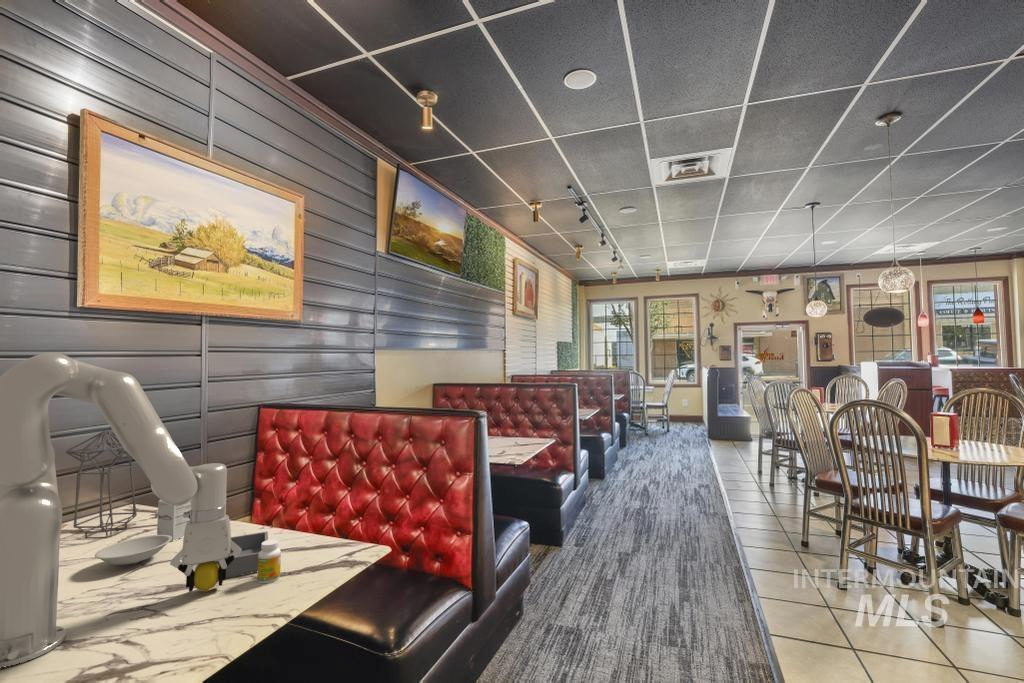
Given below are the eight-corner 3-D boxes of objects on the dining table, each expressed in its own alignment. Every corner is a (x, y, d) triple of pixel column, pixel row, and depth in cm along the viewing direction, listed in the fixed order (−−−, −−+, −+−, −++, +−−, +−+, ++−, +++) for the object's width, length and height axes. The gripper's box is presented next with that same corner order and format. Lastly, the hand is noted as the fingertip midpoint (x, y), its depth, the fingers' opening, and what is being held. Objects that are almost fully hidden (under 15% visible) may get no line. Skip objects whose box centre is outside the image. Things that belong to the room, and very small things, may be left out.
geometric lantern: (107, 543, 146) (107, 433, 147) (59, 543, 146) (60, 434, 148) (147, 524, 162) (148, 426, 163) (104, 525, 162) (105, 427, 163)
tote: (267, 569, 127) (268, 551, 127) (209, 581, 120) (210, 562, 120) (267, 547, 142) (267, 531, 142) (215, 556, 136) (216, 539, 136)
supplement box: (155, 539, 149) (157, 500, 149) (178, 531, 156) (179, 494, 156) (172, 542, 147) (173, 502, 147) (194, 533, 154) (195, 496, 154)
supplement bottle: (254, 585, 118) (255, 547, 118) (260, 575, 123) (261, 539, 124) (277, 582, 119) (278, 544, 120) (282, 573, 125) (283, 537, 125)
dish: (158, 547, 142) (158, 531, 143) (181, 557, 135) (182, 540, 136) (84, 569, 127) (85, 551, 127) (106, 581, 120) (107, 562, 120)
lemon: (206, 598, 111) (207, 565, 112) (187, 596, 112) (188, 563, 113) (224, 587, 117) (225, 555, 117) (206, 585, 118) (207, 554, 118)
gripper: (163, 524, 108) (161, 601, 107) (247, 512, 116) (245, 584, 115) (169, 514, 115) (166, 588, 114) (247, 504, 123) (246, 572, 122)
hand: (206, 585), depth 115 cm, fingers closed on lemon, 5 cm apart
